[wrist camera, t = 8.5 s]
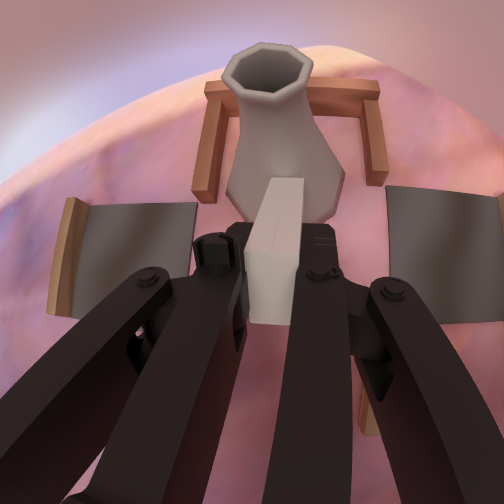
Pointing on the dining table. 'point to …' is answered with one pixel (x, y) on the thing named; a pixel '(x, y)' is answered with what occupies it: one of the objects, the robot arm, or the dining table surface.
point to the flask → (279, 132)
